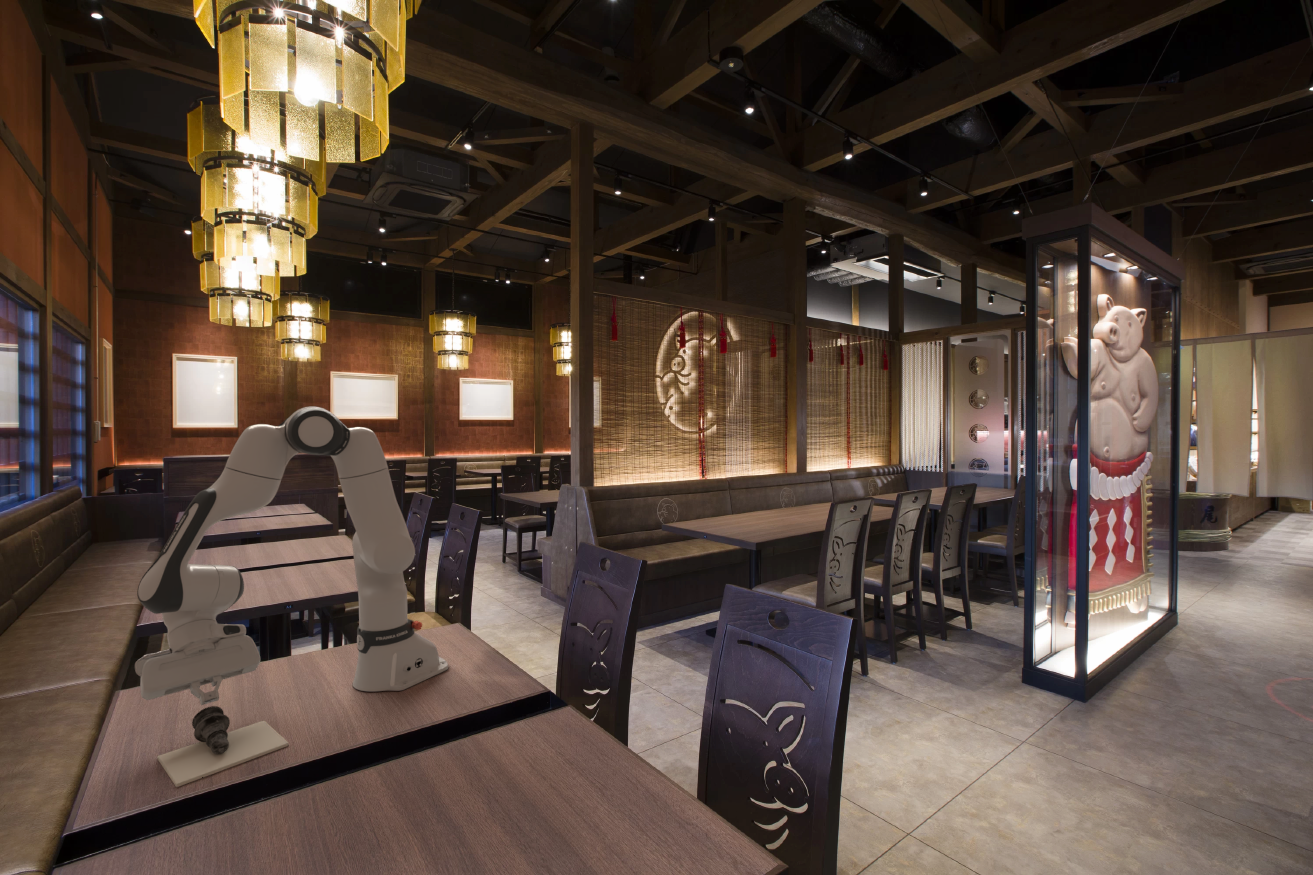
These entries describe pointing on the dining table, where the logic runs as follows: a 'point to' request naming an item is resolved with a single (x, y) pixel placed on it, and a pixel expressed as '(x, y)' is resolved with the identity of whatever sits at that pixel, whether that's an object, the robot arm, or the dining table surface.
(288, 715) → the dining table surface
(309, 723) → the dining table surface
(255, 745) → the placemat
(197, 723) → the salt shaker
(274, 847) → the dining table surface
